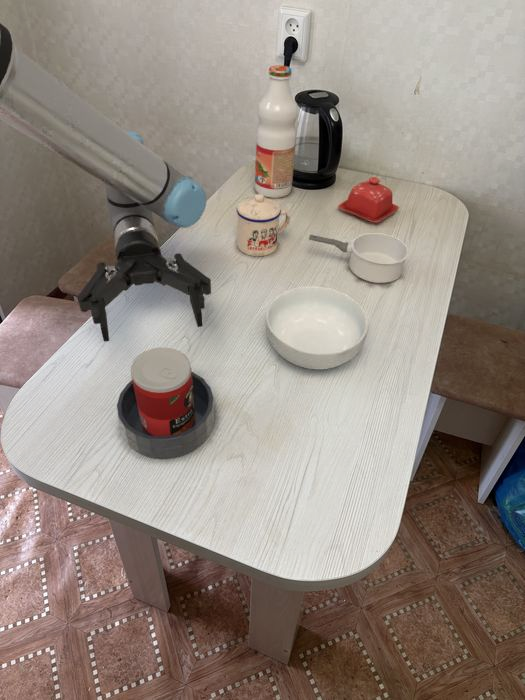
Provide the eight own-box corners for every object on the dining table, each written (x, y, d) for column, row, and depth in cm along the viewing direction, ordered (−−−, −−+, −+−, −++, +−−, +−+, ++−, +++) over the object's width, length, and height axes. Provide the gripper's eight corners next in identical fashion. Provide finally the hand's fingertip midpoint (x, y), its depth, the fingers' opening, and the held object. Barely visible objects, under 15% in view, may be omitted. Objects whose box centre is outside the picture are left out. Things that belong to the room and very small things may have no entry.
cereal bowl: (259, 317, 92) (261, 285, 87) (348, 314, 93) (355, 283, 88) (269, 386, 80) (271, 354, 75) (371, 382, 81) (380, 350, 76)
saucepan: (311, 245, 110) (314, 222, 106) (404, 260, 107) (410, 237, 103) (301, 274, 102) (304, 250, 98) (401, 292, 99) (408, 268, 95)
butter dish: (360, 195, 128) (366, 163, 122) (400, 211, 123) (408, 178, 117) (334, 211, 121) (339, 177, 116) (375, 229, 116) (383, 194, 110)
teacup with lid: (246, 261, 104) (247, 210, 96) (229, 239, 110) (229, 189, 102) (297, 250, 108) (302, 199, 100) (278, 229, 114) (282, 180, 106)
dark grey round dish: (112, 457, 69) (107, 437, 66) (132, 385, 78) (128, 365, 75) (209, 461, 69) (208, 441, 66) (217, 389, 79) (216, 369, 76)
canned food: (181, 448, 70) (175, 396, 62) (130, 431, 72) (118, 379, 64) (204, 408, 75) (201, 355, 68) (155, 393, 77) (147, 341, 69)
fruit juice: (289, 200, 124) (299, 76, 105) (251, 196, 125) (255, 72, 106) (293, 183, 131) (304, 64, 112) (257, 179, 132) (262, 60, 113)
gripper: (209, 257, 93) (236, 332, 78) (67, 275, 87) (69, 359, 73) (207, 221, 88) (237, 294, 73) (56, 237, 82) (56, 320, 68)
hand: (153, 327), depth 73 cm, fingers open, 13 cm apart
